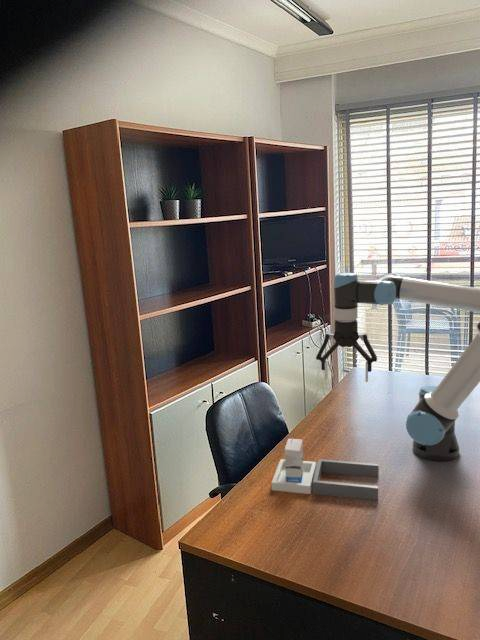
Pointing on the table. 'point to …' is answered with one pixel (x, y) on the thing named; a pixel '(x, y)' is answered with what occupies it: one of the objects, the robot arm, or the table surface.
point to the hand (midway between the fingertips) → (346, 379)
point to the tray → (303, 487)
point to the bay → (345, 488)
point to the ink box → (294, 460)
